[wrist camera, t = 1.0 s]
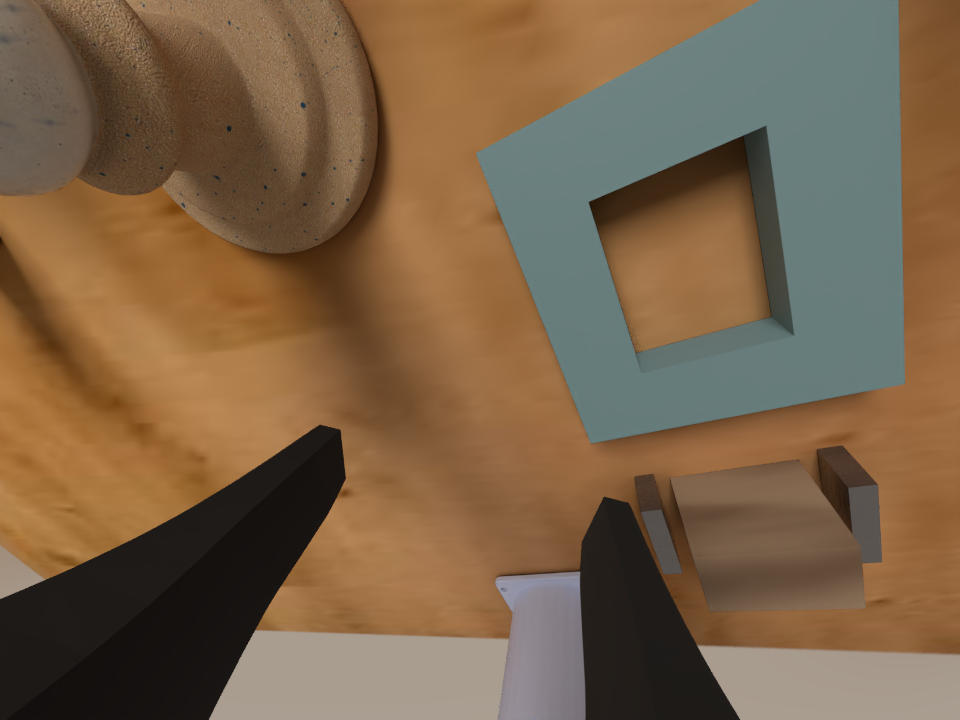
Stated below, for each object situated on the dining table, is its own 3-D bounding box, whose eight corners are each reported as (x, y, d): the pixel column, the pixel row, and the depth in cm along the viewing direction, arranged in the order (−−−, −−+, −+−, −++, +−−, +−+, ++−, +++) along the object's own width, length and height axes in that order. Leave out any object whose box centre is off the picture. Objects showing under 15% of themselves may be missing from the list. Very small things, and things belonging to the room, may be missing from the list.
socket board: (870, 359, 16) (904, 383, 14) (589, 419, 21) (590, 443, 19) (848, -39, 11) (897, -74, 10) (486, 153, 16) (475, 153, 14)
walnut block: (805, 513, 21) (865, 608, 16) (684, 525, 23) (709, 611, 19) (797, 458, 19) (860, 546, 15) (669, 476, 21) (692, 557, 17)
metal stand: (849, 518, 20) (882, 562, 18) (655, 536, 24) (663, 574, 21) (842, 445, 18) (877, 484, 16) (634, 477, 22) (640, 511, 20)
